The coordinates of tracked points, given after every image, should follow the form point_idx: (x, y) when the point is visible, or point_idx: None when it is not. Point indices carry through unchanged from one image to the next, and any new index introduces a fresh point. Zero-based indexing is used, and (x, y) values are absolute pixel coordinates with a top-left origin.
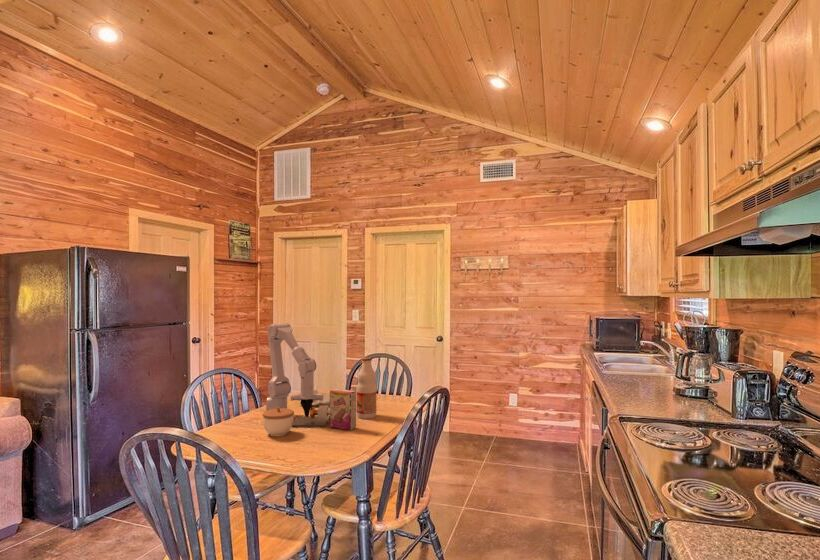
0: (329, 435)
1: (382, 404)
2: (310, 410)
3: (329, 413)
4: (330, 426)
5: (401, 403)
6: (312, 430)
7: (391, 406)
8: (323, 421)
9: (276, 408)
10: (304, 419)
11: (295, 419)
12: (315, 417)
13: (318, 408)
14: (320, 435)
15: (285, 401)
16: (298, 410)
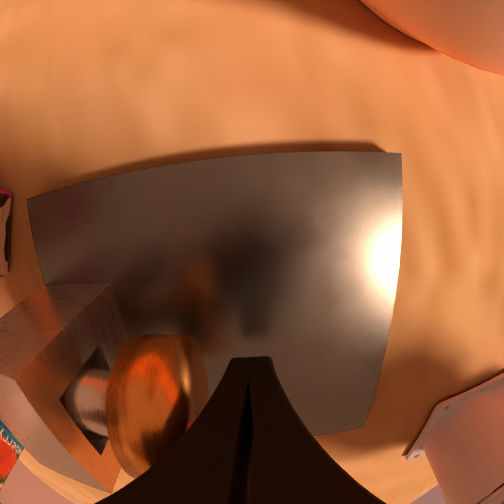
0: (10, 33)
1: (65, 484)
2: (156, 409)
3: None
4: (2, 191)
5: (34, 470)
6: (112, 71)
7: (32, 462)
8: (59, 288)
9: (501, 422)
10: (291, 372)
11: (381, 359)
12: None
13: (23, 400)
14: (52, 4)
15: (466, 487)
16: None
